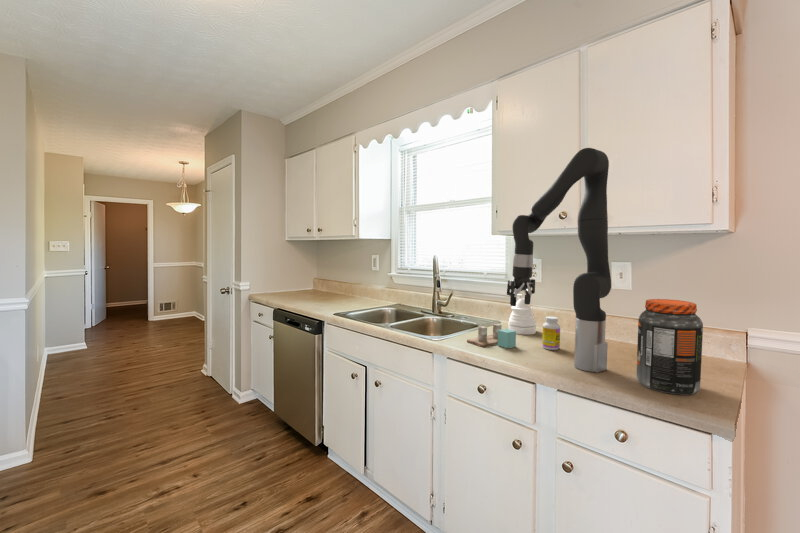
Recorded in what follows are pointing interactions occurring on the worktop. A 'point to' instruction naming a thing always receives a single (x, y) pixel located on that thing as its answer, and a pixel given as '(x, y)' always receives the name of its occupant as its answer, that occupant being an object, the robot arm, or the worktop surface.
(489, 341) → the stand
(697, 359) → the supplement tub
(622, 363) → the worktop surface
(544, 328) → the supplement bottle
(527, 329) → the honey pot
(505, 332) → the teal block
